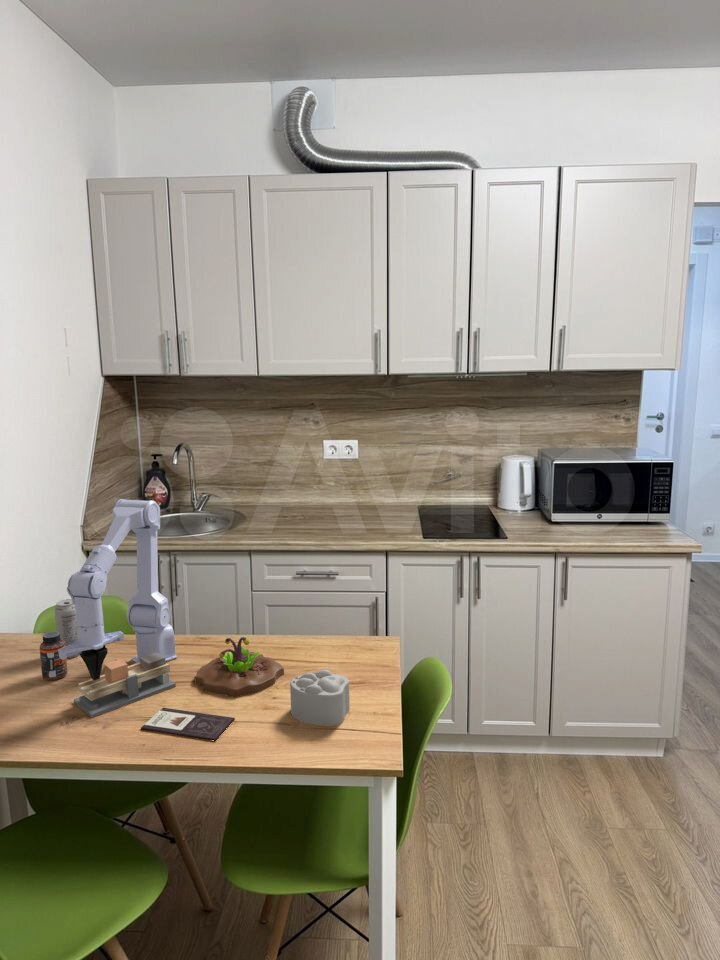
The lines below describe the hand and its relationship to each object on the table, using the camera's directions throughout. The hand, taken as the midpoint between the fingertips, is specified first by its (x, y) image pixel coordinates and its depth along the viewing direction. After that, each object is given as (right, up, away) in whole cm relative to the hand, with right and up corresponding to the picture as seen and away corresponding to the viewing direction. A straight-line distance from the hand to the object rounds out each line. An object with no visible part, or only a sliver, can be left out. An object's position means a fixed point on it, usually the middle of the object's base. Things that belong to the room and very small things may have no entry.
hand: (95, 678), depth 164 cm
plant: (+31, -4, +14) cm, 35 cm away
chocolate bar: (+24, -9, -8) cm, 26 cm away
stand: (+5, -6, +6) cm, 10 cm away
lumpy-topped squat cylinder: (+52, -7, -4) cm, 53 cm away
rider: (+4, -1, +4) cm, 6 cm away
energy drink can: (-17, -2, +28) cm, 33 cm away
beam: (+5, -4, +6) cm, 9 cm away
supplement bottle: (-16, -4, +16) cm, 23 cm away
